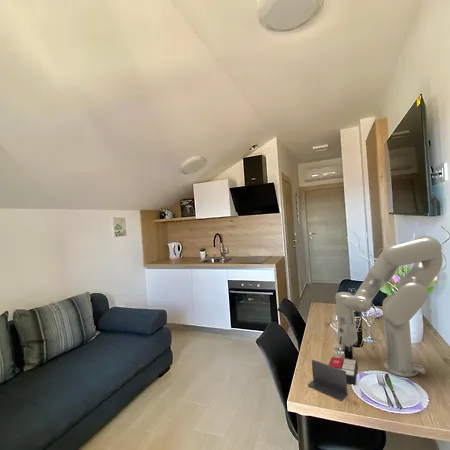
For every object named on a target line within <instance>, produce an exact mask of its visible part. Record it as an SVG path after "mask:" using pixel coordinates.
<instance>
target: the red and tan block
mask: <svg viewBox="0 0 450 450" xmlns="http://www.w3.org/2000/svg"><path fill="white" fill-rule="evenodd" d="M328 365H329V366H332V367H335V368H338V369H341V370H343V371H346V379H347V385H352V384H353V385H352V386H356V383H357V375H358V361H357V360H356V359H351V360H350V359H347V358H341V357H336V356H332V357H331V358H330V360H329V363H328Z"/></svg>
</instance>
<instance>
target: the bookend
mask: <svg viewBox="0 0 450 450" xmlns="http://www.w3.org/2000/svg"><path fill="white" fill-rule="evenodd" d="M311 369H312V370H311V372H312V381H311V382H309V383H308V385H307V386H308V387H309V388H311V389H313V390H316V391H318V392H319V393H322V394H324V395H327V396H329V397H331V398H333V399H336V400H338V401H339V402H342V401H344V400H345V398H346V397H347V396H349V391H348V384H347V379H346V371H343V370H341V369H338V368H335V367H332V366H329V364H327V363H323V362H320V361H318V360H316V359H312V360H311Z"/></svg>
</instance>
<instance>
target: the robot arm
mask: <svg viewBox="0 0 450 450" xmlns="http://www.w3.org/2000/svg"><path fill="white" fill-rule="evenodd" d="M442 248H443V247H442V245H441V242H440V241H439V240H437V239H436V238H434V237H433V236H430V235H420V236H417V237H416V238H415V239H414V240H411V241H406V242H404V243H399V244H398V243H389V244H387V245H386V246H385V247H384V248H383V250H382V251H381V252H380V254H379V256H378V257H377V259H376V260H375V262H374V263H373V264H372V267H371V268H370V270H369V271H368V272H367V275H366V277H365V278H364V279H363V282H362V283H360V286H359V288H358V289H356V290H357V291H356V292H355V294H352V293H350V292H347V291H340V292H337V293H336V294H335V307H336V308H335V309H336V319H337V342H338V344H339V346H340V350H343V352H344V359H350V360H354V354H353V353H354V352H353V349H354V344H356V343H357V342H358V339H359V338H358V332H357V331H358V330H357V325H356V319H355V311H356V312H358V313H359V312H360V313H367V312H369V311H370V310H371V308H372V304H373V300H374V298H375V297H376V295H377V294H378V293H379V291H380V290H381V288H382V287H383V286H385V285H387V284H388V283H389V282H390V281H391V280H392V278H393V277H394V275H395V274H396V272H397V270H398V269H399V268H400V267H401V266H407V265H410V264H413V265H412V266H411V268H410V269H409V270H408V272H407V273H406V274H405V276H403V278H402V279H401V280H399V282H398V285H397V286H398V287H397V288H398V289H397V290H396V291H395V292H394V294H392V295H388V296H386V297H385V298H384V299H383V300H382V306H381V307H382V308H381V309H382V315H383V316H382V317H383V325H384V327H383V329H384V339H385V350H386V360H385V361H384V362H383V368H384V370H386V372H388V373H390V374H392V373H393V374H392V375H395V374H396V375H395V376H398V375H399V376H398V377H406V378H409V377H410V378H411V377H415V376H417V375H418V374H419V373H421V374H423V375H425V374H426V368H424V365H420V364H417V363H416V359H414V357H413V348H412V333H411V324H410V323H411V322H410V321H411V319H413V317H414V316H415V315H416V314H417V313H418V312H419V311H420V309H421V308H422V307H423V306H424V304H425V303H426V302H427V299H428V296H429V294H428V292H429V290H428V288H429V287H430V285H431V284H432V282H433V281H434V280H435V278H436V277H437V275H438V274H439V273H440V271H441V269H442V267H443V261H444V260H443V258H444V257H443V252H442Z"/></svg>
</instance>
